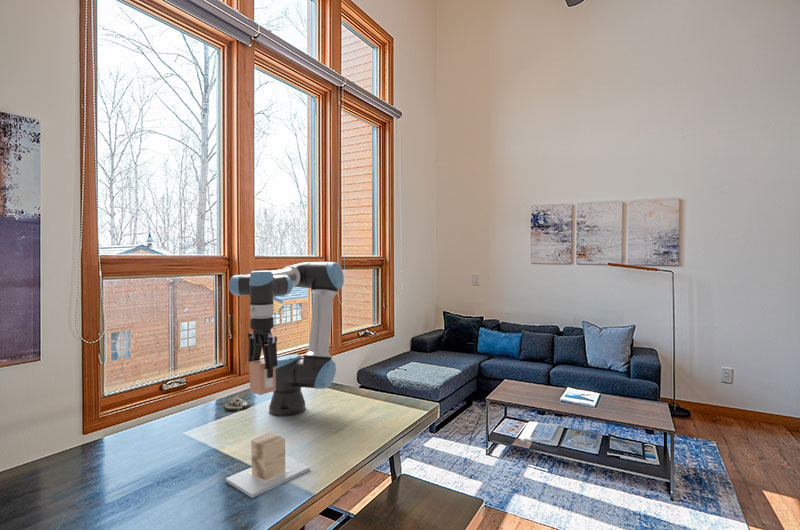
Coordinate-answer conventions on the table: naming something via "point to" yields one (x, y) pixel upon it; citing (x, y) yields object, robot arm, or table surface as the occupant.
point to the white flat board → (257, 485)
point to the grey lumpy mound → (236, 405)
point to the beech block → (268, 455)
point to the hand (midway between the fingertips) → (262, 385)
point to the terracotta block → (260, 378)
